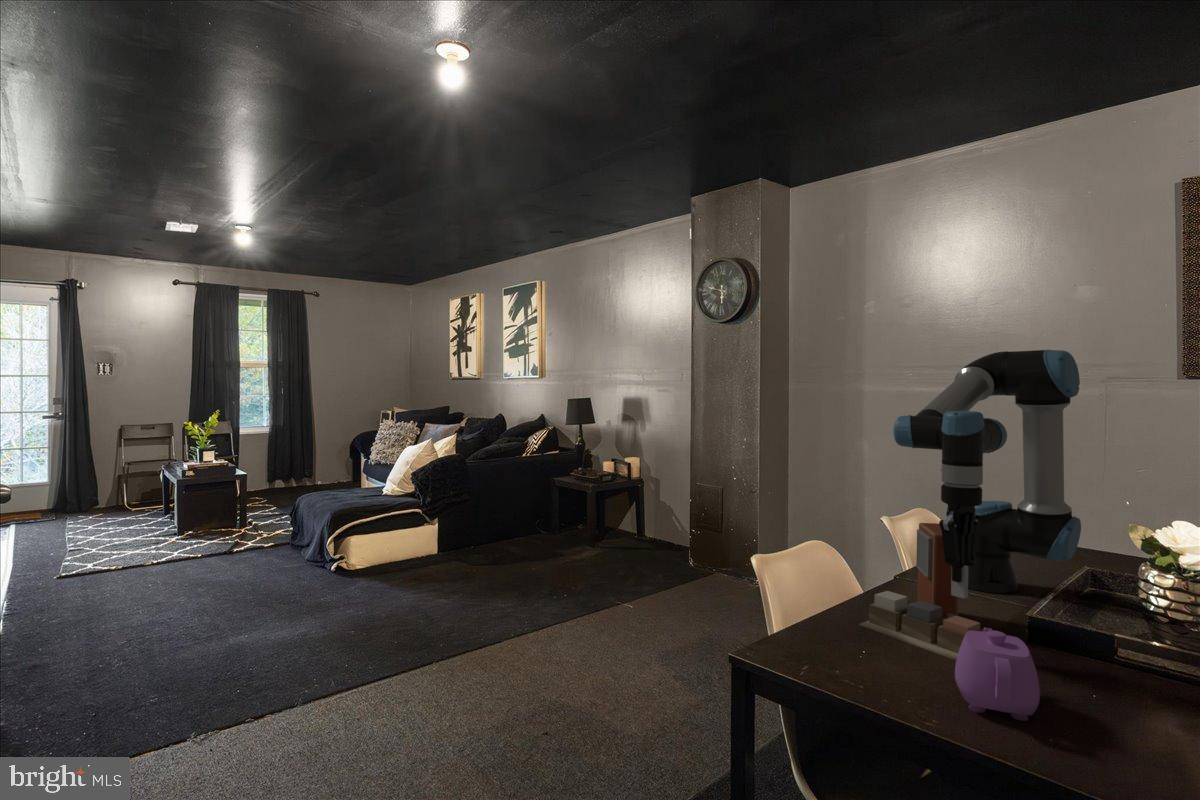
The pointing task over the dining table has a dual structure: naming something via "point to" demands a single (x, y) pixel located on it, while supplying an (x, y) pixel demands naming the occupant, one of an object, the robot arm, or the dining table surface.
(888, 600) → the ivory key
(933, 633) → the keypad board
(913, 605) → the graphite key
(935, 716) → the dining table surface
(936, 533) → the terracotta and grey box
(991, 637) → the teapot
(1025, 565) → the dining table surface
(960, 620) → the terracotta key
